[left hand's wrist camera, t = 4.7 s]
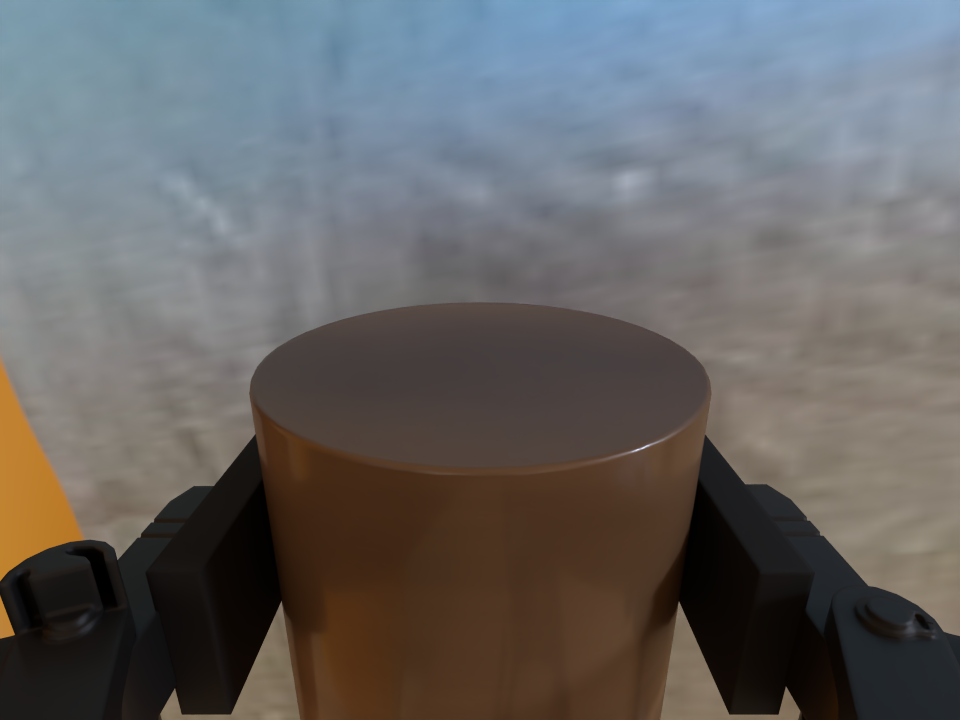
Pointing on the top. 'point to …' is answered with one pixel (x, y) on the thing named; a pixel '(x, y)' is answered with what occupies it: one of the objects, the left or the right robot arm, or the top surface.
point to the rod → (480, 511)
